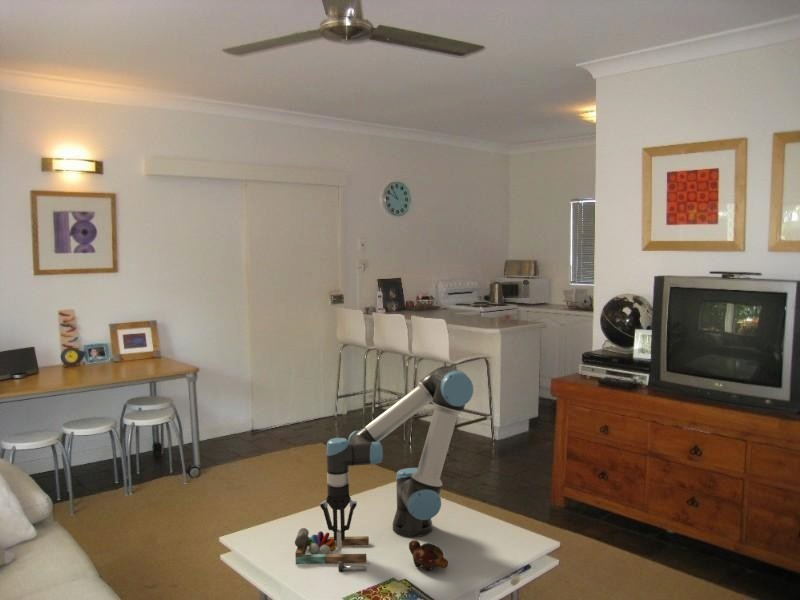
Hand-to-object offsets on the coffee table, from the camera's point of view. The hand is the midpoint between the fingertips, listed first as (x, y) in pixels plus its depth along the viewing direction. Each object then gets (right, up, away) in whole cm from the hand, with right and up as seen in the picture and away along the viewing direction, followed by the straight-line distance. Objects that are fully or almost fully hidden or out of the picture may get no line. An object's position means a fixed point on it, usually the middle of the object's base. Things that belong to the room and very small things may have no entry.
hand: (339, 548), depth 235 cm
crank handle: (+6, -3, -13) cm, 14 cm away
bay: (-2, -2, 0) cm, 3 cm away
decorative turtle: (+31, -2, -11) cm, 33 cm away
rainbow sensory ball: (-6, -2, +1) cm, 7 cm away
